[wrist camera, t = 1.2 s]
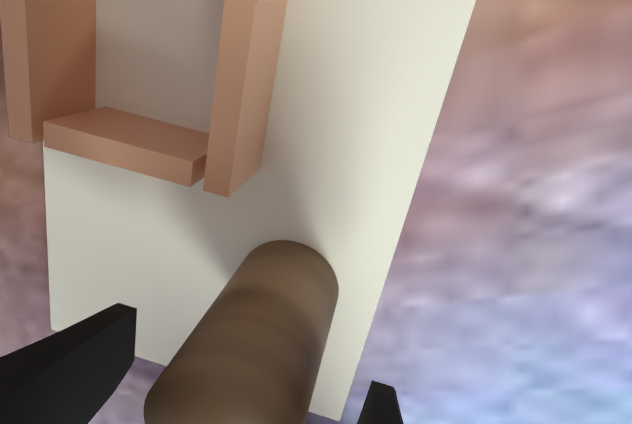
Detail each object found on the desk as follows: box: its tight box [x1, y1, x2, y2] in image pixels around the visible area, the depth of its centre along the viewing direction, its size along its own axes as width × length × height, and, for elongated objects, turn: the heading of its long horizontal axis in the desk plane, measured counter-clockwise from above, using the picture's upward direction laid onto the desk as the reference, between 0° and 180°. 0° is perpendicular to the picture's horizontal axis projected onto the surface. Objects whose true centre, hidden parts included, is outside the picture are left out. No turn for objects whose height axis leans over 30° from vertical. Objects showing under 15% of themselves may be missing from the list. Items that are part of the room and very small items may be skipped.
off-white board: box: [43, 0, 476, 422], centre depth 17 cm, size 20×14×1 cm
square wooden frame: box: [0, 0, 288, 198], centre depth 13 cm, size 7×7×3 cm
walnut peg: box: [144, 240, 339, 424], centre depth 14 cm, size 4×4×7 cm
